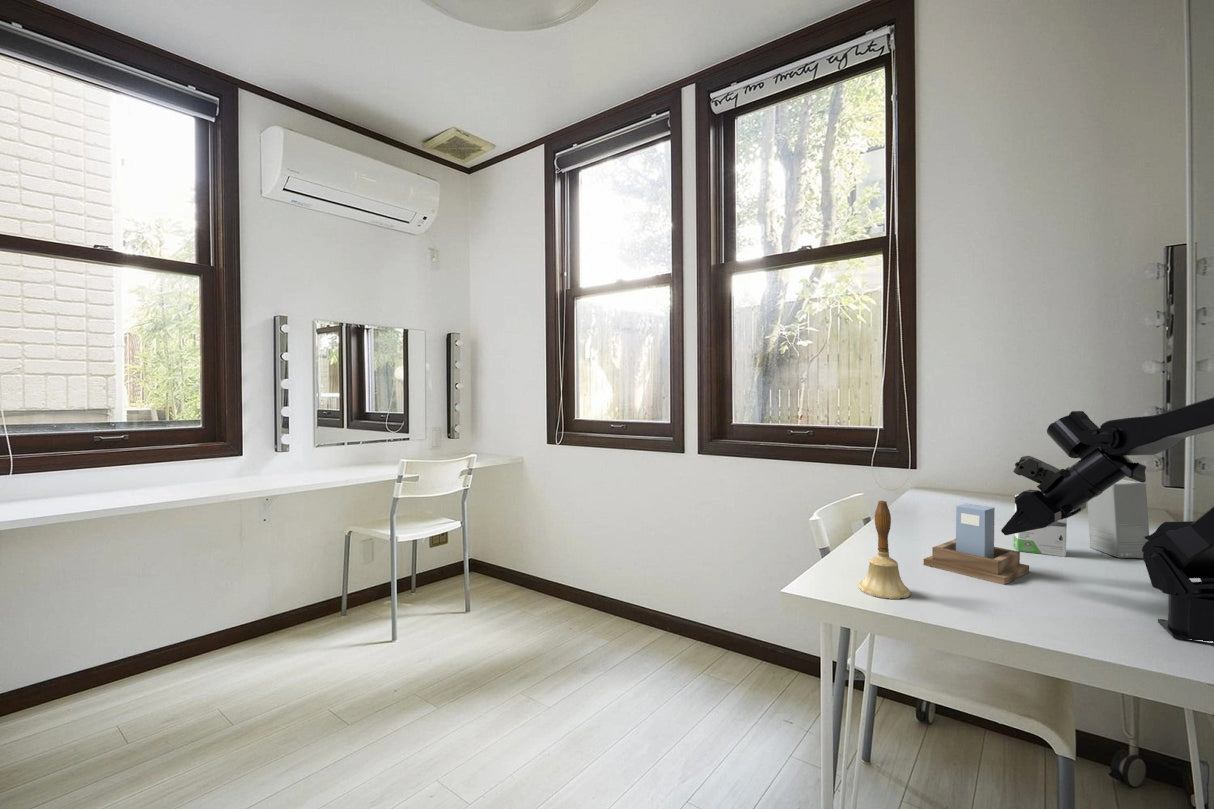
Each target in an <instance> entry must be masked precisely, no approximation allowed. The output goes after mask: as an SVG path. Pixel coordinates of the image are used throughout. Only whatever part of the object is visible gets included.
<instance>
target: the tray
mask: <svg viewBox="0 0 1214 809" xmlns="http://www.w3.org/2000/svg"><path fill="white" fill-rule="evenodd" d="M931 551H932V552H931V553H932V555H930V556H927V557H926V558H923V566H928V567H932V568H935V569H940V570H942V571H943V570H944V571H946V572H952V573H955V574H960V575H964V576H968V577H972V578H975V579H981V580H983V581H987V582H992V583H997V584H1000V585H1007V584H1008V583H1010V582H1013V581H1015V579H1017V578H1019V577H1022V576H1024V575H1025V574H1028V573H1029V572H1030V565H1029V564H1024V563H1021V562H1020V560H1021V558H1020V557H1021V556H1020V555H1021V551H1017V550H1013V549H1007V548H1003V547H997V546H994V559H991V558H986V557H982V556H977V555H973V554H968V553H963V552H959V551H956V538H955V539H952V540H949V541H947V542H944V543H940V544H938V545H935V546H933V547H932V550H931Z"/></svg>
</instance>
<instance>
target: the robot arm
mask: <svg viewBox="0 0 1214 809" xmlns="http://www.w3.org/2000/svg"><path fill="white" fill-rule="evenodd" d="M1213 431H1214V397H1210V398H1207V399H1204V400H1200V401H1197V402H1193V403H1191V404H1188V405H1184V406H1181V407H1177V408H1175V409H1172V410H1168V411H1164V412H1162V413H1158V414H1154V415H1145V416H1137V417H1136V416H1135V417H1125V418H1118V419H1109V420H1107V421H1104V422H1103V423H1102V424H1101V425H1100V427H1099V426H1098V425H1097V424H1096V423H1095V422H1093V421H1092V420H1091V419H1090V417H1089V416H1088V414H1087V413H1086V412H1084V411H1083V410H1072V411H1070V413H1069V414H1067V415H1065V416H1063V417H1060V418H1058V419H1057V420H1055V421H1054V422H1052V423H1050V424H1049V425H1048V427H1047V429H1046V434H1047V435H1048V436H1049V437H1050V439H1052V441H1053V442H1054V443H1055V444H1056V445H1057V446H1058V447H1059V448H1060V449H1061V450H1062V451H1063V452H1064V453H1065V454H1066V455H1067V456H1068V457H1069V458H1070V459H1079V460H1078V461H1076V462H1075V463H1074V464H1073V465H1071V466H1068V467H1066V468H1061V469H1059V468H1057V467H1055V466H1054V465H1052V464H1050V463H1047V462H1045V461H1043V460H1041V459H1038V458H1036V457H1034V456H1031V455H1025V456H1021V457H1020V458H1019V460H1018V461H1017V462H1015V463H1014V466H1015V467H1014V469H1013V471H1012V472H1013V474H1015V475H1018V476H1021V477H1024V478H1027V479H1029V480H1031V481H1032V482H1035V483H1037V484H1038V485H1036V487H1037V489H1027V490H1024V491H1023V490H1022V492H1020V493H1019V495H1018V496H1016V497H1015V496H1014V505H1015V504H1016V508H1017V511H1016V512H1015V511H1014V513H1013V515H1012V516H1011V518H1009V520H1008V521H1007V522H1006V524H1004V526H1003V527H1002V528H1001V530H1000V531H1001V533H1002V534H1003V535H1004V536H1010V535H1014V534H1015V533H1020V532H1025V531H1030V530H1035V529H1040V528H1045V527H1047V526H1050V525H1052V524H1053V523H1055V522H1057V521H1058V520H1060V519H1065V518H1067V519H1068V518H1070V517H1072V516H1075V515H1077V514H1079V513H1081V512H1082V511H1083V510H1086V509H1087V503H1088V501H1089V500H1091V499H1092V498H1094V497H1097V496H1099V495H1100V494H1102V493H1103V491H1105V490H1106V489H1108V488H1109V487H1111V486H1112V485H1114V484H1115V483H1117V482H1118V481H1120V480H1121V479H1123V480H1124V478H1126V477H1128V478H1129V479H1130V480H1131V479H1132V480H1133V481H1135V482H1141V483H1145V482H1146V481H1147V480H1146V479H1147V478H1146V476H1147V475H1146V469H1147V465H1145V464H1142V463H1139V462H1133V461H1132V460H1131V459H1130V458H1129V457H1128V456H1154V455H1157V454H1159V453H1162V452H1163V451H1167V450H1168V449H1170V448H1173V447H1174V446H1176V444H1178V442H1180V441H1181V440H1184V439H1186V438H1190V437H1193V436H1197V435H1202V434H1204V433H1209V432H1213ZM1038 489H1039V490H1038ZM1145 539H1147V540H1148V541H1147V542H1146V543H1145V544H1144V545H1143V547H1142V552H1143V558H1142V559H1143V561H1144V564H1145V568H1146V570H1147V571H1146V572H1147V574H1148V577H1149V580H1150V583H1151V586H1152V588H1154V589H1156V590H1160V591H1161V593H1163V594H1166V595H1167V597H1168V598H1167V619H1165V618H1157V623H1158V624H1159V625H1160V626H1161V627H1162V628H1163V629H1164V630H1166V632H1167V633H1168V634H1169V635H1170V636H1171V637H1172V636H1173V637H1172V638H1174V637H1175V638H1174V639H1178V638H1180V639H1179V640H1184V639H1192V640H1203V641H1213V642H1214V505H1213V506H1212V507H1211V508H1209V509H1208V510H1207V511H1206V512H1205V513H1203V514H1202V515H1201V516H1200V517H1198V518H1197V519H1196V520H1191V521H1190V520H1189V521H1185V520H1183V521H1164V522H1163V523H1161V524H1160V525H1159V526H1158V527H1157V529H1156V530H1155V531H1154V532H1152V533H1151V534H1149V536H1145ZM1191 579H1200V581H1192V580H1191ZM1181 638H1182V639H1181Z"/></svg>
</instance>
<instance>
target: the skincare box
mask: <svg viewBox="0 0 1214 809" xmlns="http://www.w3.org/2000/svg"><path fill="white" fill-rule="evenodd" d="M1148 510H1149V508H1148V497H1147V484H1146V483H1145V482H1144V483H1141V482H1139V481H1135V480H1128V479H1124V478H1123V479H1121V480H1120V481H1118V482H1117V483H1115V484H1114V485H1112V486H1111V487H1109V488H1108V489H1106V490H1105V491H1103V493H1102V494H1100V495H1099V496H1097V497H1094V498H1092V499H1091V500H1089V501H1088V502H1087V515H1088V516H1087V517H1088V531H1089V532H1088V533H1089V548H1090V549H1092V550H1095V551H1098V552H1101V553H1104V554H1107V555H1110V556H1112V557H1115V558H1122V559H1124V558H1127V559H1131V558H1132V559H1144V558H1143V552H1142V547H1143V545H1144V544H1145V543H1146V542H1147V541H1148V540H1147V539H1145V536H1149V535H1150V528H1149V526H1150V525H1149V513H1148V512H1149V511H1148Z"/></svg>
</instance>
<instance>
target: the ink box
mask: <svg viewBox="0 0 1214 809" xmlns="http://www.w3.org/2000/svg"><path fill="white" fill-rule="evenodd" d="M1019 494H1020V493H1019ZM1019 494H1018V493H1017V494H1015V495H1014V498H1015V497H1016V496H1018V495H1019ZM1016 511H1017V508H1016V504H1015V503H1014V513H1015V512H1016ZM1067 520H1068V518H1065V519H1060V520H1058V521H1057V522H1055V523H1053V524H1052V525H1050V526H1047V527H1045V528H1040V529H1035V530H1030V531H1025V532H1020V533H1015V534H1013V543H1012V544H1013V545H1012V546H1013V547H1014V549H1015V551H1018V552H1020V553H1021V552H1022V553H1031V554H1037V555H1038V554H1039V555H1045V556H1056V557H1064V558H1065V557H1067V529H1068V527H1067V525H1068V522H1067Z"/></svg>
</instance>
